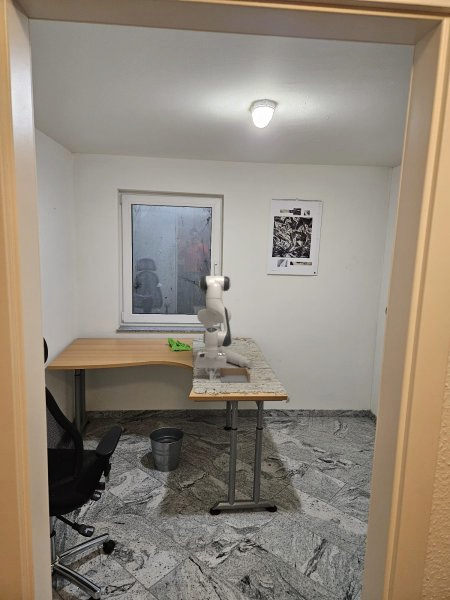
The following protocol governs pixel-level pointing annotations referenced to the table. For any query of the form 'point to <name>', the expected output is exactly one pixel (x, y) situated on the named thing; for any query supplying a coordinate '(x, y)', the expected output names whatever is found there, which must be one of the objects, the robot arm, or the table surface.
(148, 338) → the table surface
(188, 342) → the table surface
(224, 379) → the tray
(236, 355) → the bottle
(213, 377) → the bracket
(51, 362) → the table surface
